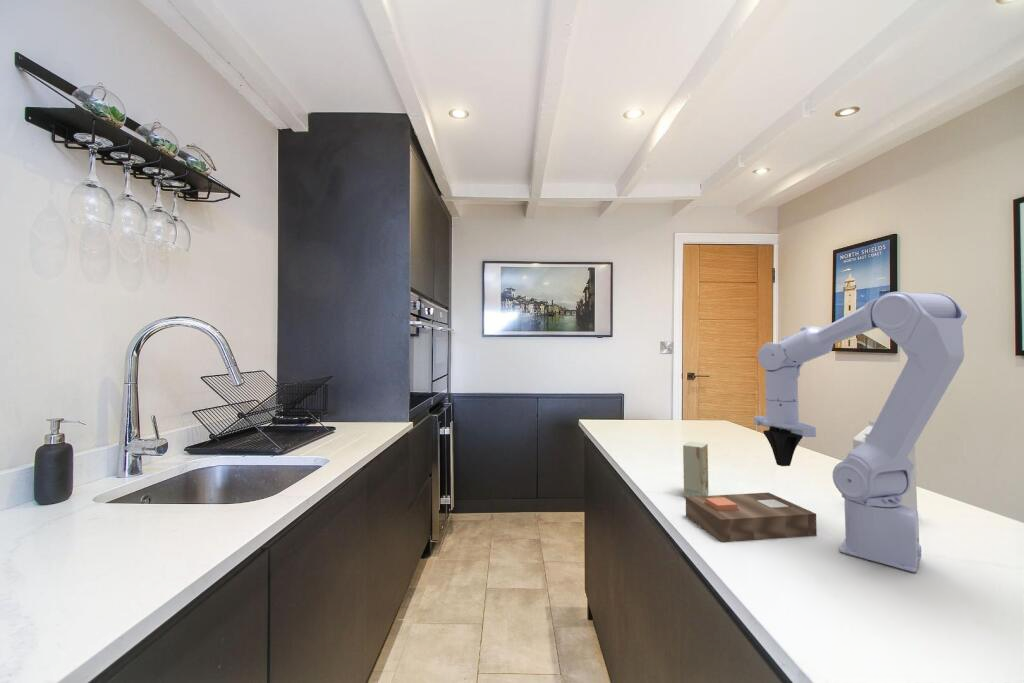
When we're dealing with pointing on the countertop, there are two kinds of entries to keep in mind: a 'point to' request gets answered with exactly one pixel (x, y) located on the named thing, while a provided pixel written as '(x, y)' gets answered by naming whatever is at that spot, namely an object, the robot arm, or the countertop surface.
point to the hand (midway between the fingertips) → (783, 465)
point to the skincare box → (695, 469)
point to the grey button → (772, 503)
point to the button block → (751, 518)
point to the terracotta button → (721, 504)
